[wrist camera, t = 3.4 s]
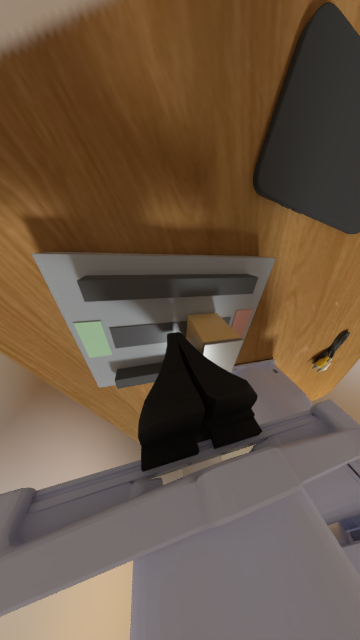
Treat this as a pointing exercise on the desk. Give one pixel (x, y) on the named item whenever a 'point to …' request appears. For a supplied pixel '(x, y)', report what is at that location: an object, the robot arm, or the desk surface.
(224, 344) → the lever
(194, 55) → the desk surface
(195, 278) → the dark gray raised rails
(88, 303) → the grey base plate
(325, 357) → the composite cable
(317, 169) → the phone
